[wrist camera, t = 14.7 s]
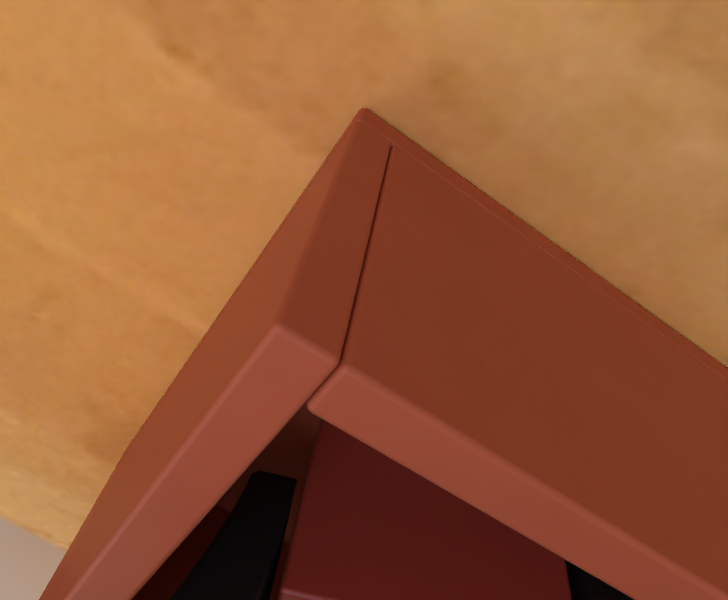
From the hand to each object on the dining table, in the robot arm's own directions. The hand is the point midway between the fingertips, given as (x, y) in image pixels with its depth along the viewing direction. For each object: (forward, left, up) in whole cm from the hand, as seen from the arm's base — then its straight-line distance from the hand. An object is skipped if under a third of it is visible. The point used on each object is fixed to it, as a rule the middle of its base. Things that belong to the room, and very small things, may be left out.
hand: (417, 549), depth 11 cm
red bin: (0, 0, -3) cm, 3 cm away
